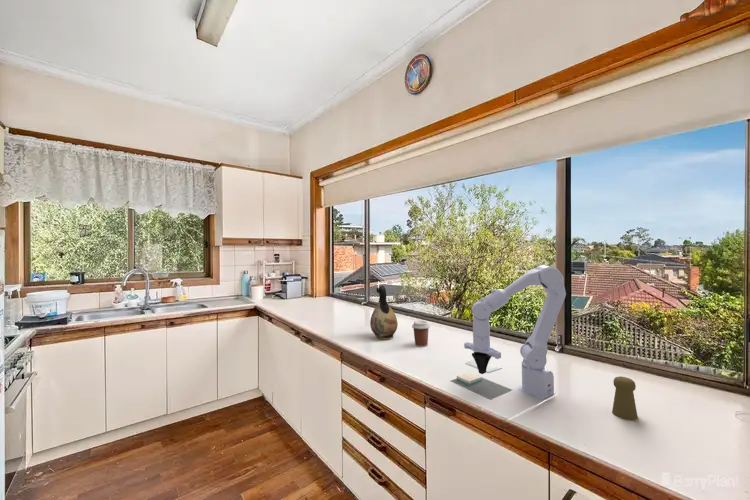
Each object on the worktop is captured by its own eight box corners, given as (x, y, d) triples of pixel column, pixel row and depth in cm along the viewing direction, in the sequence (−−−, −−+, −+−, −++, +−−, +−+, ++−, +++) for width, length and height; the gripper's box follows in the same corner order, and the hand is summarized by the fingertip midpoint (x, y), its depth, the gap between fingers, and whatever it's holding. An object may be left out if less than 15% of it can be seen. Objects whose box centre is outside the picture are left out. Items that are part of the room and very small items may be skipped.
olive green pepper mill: (610, 415, 94) (609, 378, 94) (614, 407, 98) (613, 372, 98) (636, 423, 90) (636, 384, 90) (639, 414, 94) (638, 377, 94)
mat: (512, 391, 110) (512, 389, 110) (490, 401, 104) (490, 399, 104) (471, 374, 126) (471, 373, 126) (449, 382, 119) (449, 380, 119)
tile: (482, 376, 118) (469, 371, 123) (469, 381, 114) (456, 375, 119) (482, 381, 118) (469, 375, 123) (469, 385, 114) (456, 380, 119)
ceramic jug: (368, 335, 185) (367, 283, 185) (394, 333, 188) (393, 282, 187) (373, 343, 168) (372, 287, 168) (401, 341, 171) (400, 286, 171)
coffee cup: (408, 345, 164) (408, 322, 164) (420, 341, 170) (419, 319, 170) (422, 349, 158) (422, 325, 157) (433, 345, 164) (433, 322, 164)
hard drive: (465, 362, 136) (488, 371, 125) (478, 358, 140) (502, 367, 130) (465, 366, 136) (488, 375, 125) (478, 362, 140) (502, 371, 130)
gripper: (458, 332, 118) (459, 369, 118) (491, 342, 105) (492, 382, 106) (471, 329, 121) (471, 365, 122) (504, 338, 109) (505, 377, 109)
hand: (482, 373), depth 114 cm, fingers closed
